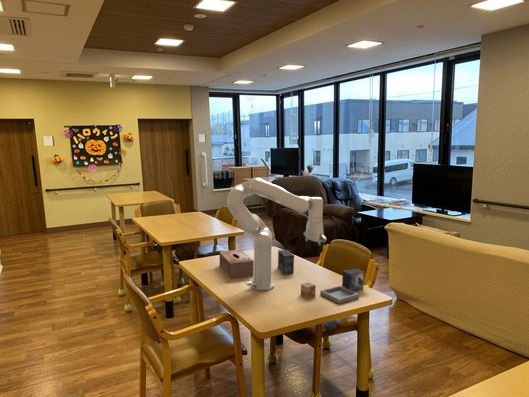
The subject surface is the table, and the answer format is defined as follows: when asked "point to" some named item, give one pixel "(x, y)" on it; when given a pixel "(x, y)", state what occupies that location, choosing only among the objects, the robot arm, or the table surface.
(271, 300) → the table surface
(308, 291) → the block
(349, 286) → the small box
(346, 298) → the tray
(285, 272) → the small box
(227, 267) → the tissue box cover
